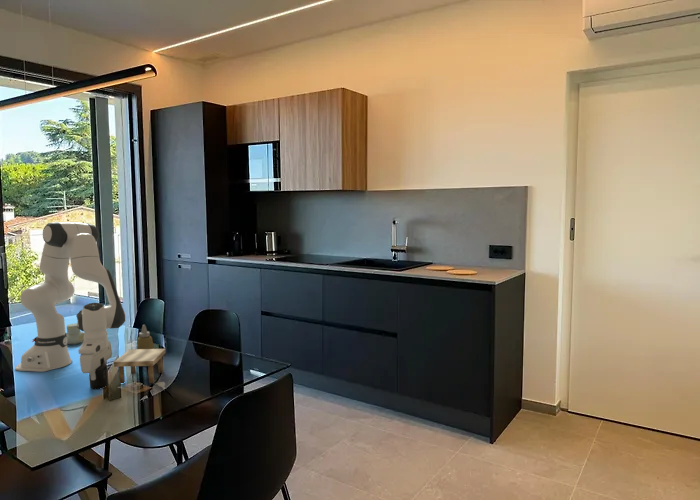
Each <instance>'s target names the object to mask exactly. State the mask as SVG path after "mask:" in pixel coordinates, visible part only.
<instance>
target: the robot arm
mask: <svg viewBox="0 0 700 500" xmlns="http://www.w3.org/2000/svg"><path fill="white" fill-rule="evenodd" d="M43 227H44V228H43V230H42V239H43V241H44V244H43V248H42V251H41V252H42V253H41V258H40V263H39V270H40V272H41V273H42V274H43V275H44V276H45V277H44V278H45V279H44V282H42V283H38V284H34V285H31V286H29V287H27V288H25V289H24V290H23V291H21V293H20V298H19V300H20V303H21V306H23V307H24V308H25V309H26V310H29V312H30V313H31V314H32V316H33V318H34V320H35V323H36V324H35V325H36V331H37V336H35V337H34V338H33V339H32V340H31V342H32V343H33V342H34V344H33V345H32V346H31V347H30V348H28V349H27V350H26V351H24V353H23V354H22V356H21V359H20V363H18V364H17V365H16V366H15V368H14V369H15V371H21V372H22V371H25V372H39V373H40V372H42V373H43V372H47V371H51V370H56V369H60V368H63V367H66V366H69V365H70V364H71V363H72V362H73V359H71V356H70V353H69V349H68V344H67V331H66V323H65V321H66V320H65V317H64V316H63V314H60V313H58V312H57V310H56V305H57V304H62V303H64V302H65V301H68V300H69V299H71V298H72V297H73V295H74V294H75V287H74V285H73V283H72V282H71V281H70V280H69V275H68V273H69V272H68V270H69V264H70V266H71V269H72V273H73V275H75V276H76V277H78V278H79V279H82V280H85V281H89V282H94V283H97V284H99V285H101V286H102V287H103V288H104V291H105V293H106V297H107V300H108V303H109V305H106V306H105V305H104V304H103V303H100V302H90V303H87V304H85V305H84V306H83V307H82V309H81V310H79V312H78V313H77V314H76V316H75V317H76V320H77V322H76V323H77V328H78V329H80V331H81V332H83V333H84V341H82V342H81V344H80V347H79V348H78V355H80V356H79V364H80V370H81V372H82V374H88V375H89V374H90V376H91V380H95V379H97V375H96V374H95V369H97V368H98V367H99V366H100V365H101V364H100V363H101V362H100V359H102V358H103V357H104V363H105V364H107V365H108V360H109V359H111V358H112V356H113V350H112V343H111V342H110V341H109V336H108V335H109V334H108V331H107V330H110V329H119V328H120V327H122V326H123V325H124V323H125V322H126V311H125V310H124V308H123V305H122V303H121V299H120V297H119V294H118V291H117V287H116V284H115V282H114V278H113V276H112V273H111V271H110V270H109V269H108V268H105V267H104V265H103V264H102V262H101V259H100V253H99V248H98V245H97V242H98V240H99V230H98V227H97V226H96V225H94V224H92V223H89V222H86V223H83V222H78V221H64V222H63V221H61V222H60V221H52V222H48V223H46V224H45V226H43Z"/></svg>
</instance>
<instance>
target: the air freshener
mask: <svg viewBox="0 0 700 500" xmlns="http://www.w3.org/2000/svg"><path fill="white" fill-rule="evenodd" d="M66 333H67V345H79V344H82V343H83V341H84V331H81V330H80V329H78V328H77V322H76V323H74V322H73V323H70V324H67V325H66Z"/></svg>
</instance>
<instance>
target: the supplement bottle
mask: <svg viewBox="0 0 700 500" xmlns="http://www.w3.org/2000/svg"><path fill="white" fill-rule="evenodd" d="M100 362H101V363H100V364H101V365H100V366H99V367H98V368H97V369H95V374H96V375H97V379H95V380H91V376H90V374H89V373H88V375H89V376H88V379H89V380H88V381H89V388H90V389H92V390H100V388H102V389H104V388H103V387H105V386H107V385H108V386H109V373H108V363H107V364H105V363H104V357H103V358H102V359H100ZM108 386H107V387H108ZM105 388H106V387H105Z"/></svg>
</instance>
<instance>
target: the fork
mask: <svg viewBox="0 0 700 500" xmlns="http://www.w3.org/2000/svg"><path fill="white" fill-rule="evenodd" d="M154 385H157V386H158V387H160V388H162V389H163V390H164V389H165V388H166V383H165V381H159V382H156V383H154Z"/></svg>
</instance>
